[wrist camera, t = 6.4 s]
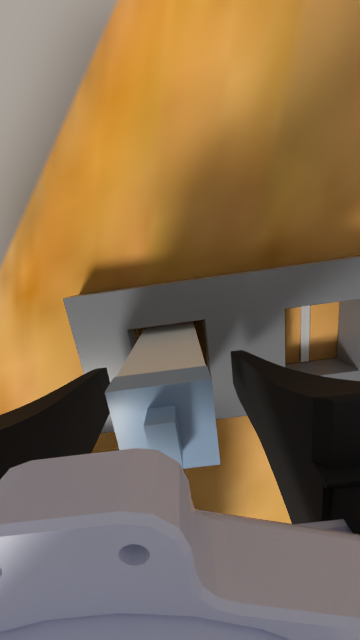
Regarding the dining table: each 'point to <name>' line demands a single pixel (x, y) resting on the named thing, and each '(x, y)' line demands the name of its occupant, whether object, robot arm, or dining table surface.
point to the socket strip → (225, 320)
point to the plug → (166, 397)
